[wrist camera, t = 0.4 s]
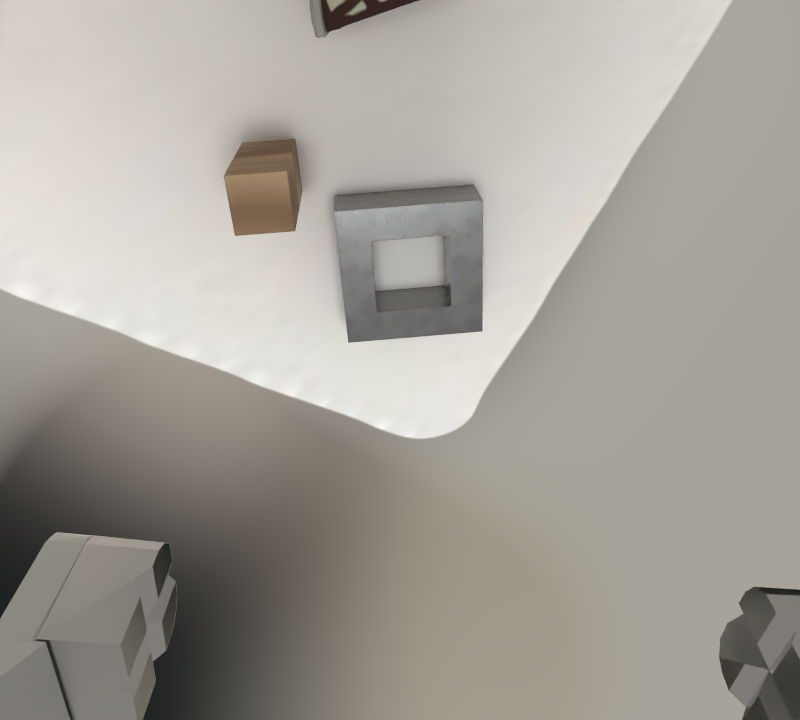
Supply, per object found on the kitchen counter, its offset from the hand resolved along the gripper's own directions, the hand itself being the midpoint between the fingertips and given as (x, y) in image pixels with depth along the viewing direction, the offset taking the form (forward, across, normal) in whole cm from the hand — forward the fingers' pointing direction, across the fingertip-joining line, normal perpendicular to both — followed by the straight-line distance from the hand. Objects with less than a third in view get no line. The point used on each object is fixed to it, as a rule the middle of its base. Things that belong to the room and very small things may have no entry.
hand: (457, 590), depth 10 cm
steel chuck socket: (+46, 0, +16) cm, 49 cm away
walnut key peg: (+46, +11, +10) cm, 48 cm away
